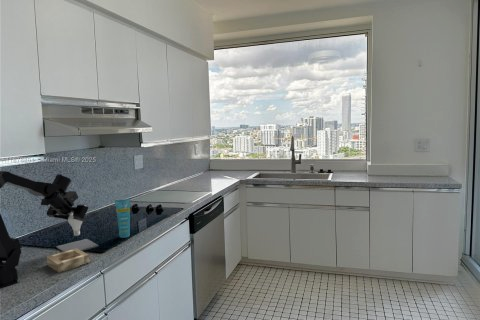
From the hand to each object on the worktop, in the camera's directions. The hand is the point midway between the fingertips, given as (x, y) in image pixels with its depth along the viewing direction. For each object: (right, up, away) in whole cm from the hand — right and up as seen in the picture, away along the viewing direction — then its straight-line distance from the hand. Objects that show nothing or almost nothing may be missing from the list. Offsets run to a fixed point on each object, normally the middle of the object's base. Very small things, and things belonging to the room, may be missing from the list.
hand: (78, 220), depth 160 cm
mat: (-1, -13, +1) cm, 13 cm away
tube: (+17, -11, +15) cm, 25 cm away
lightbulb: (0, -7, 0) cm, 7 cm away
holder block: (+5, -15, -18) cm, 24 cm away
